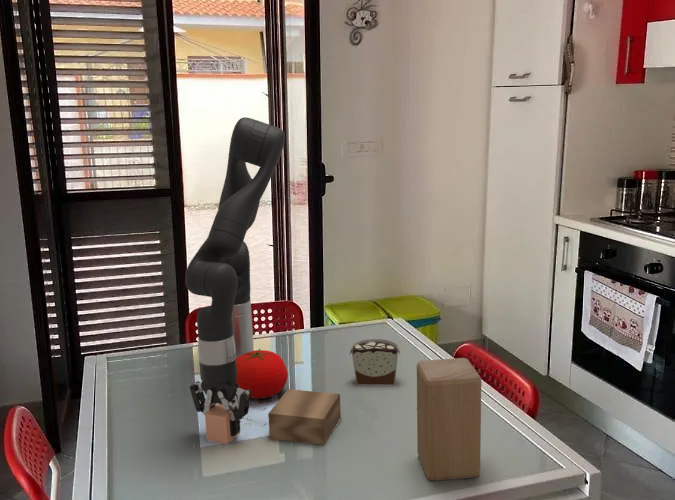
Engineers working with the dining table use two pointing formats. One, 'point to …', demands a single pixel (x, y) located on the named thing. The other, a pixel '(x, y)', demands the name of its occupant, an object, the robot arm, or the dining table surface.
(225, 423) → the terracotta block
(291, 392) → the walnut block
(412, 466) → the dining table surface
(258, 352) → the tomato
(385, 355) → the food container
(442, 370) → the wooden block
